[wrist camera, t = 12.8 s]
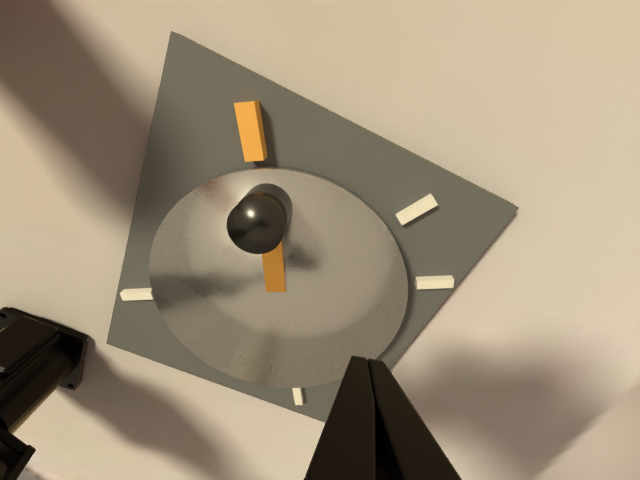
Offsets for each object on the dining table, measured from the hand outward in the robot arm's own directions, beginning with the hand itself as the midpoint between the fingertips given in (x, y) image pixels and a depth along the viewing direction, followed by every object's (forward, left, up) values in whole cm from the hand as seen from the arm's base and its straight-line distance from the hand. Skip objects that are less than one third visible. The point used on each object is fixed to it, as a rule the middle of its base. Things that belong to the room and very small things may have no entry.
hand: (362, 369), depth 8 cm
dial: (-6, +2, -11) cm, 13 cm away
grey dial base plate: (-7, +2, -12) cm, 14 cm away
